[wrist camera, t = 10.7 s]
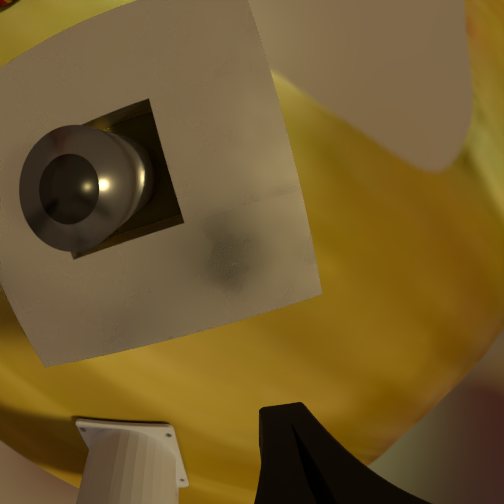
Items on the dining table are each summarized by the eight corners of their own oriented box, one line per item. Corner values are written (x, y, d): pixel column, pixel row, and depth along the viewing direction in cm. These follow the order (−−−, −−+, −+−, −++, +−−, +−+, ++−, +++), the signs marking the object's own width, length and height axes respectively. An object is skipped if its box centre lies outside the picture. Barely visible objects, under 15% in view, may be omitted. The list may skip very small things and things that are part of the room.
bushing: (160, 212, 16) (130, 250, 9) (90, 215, 15) (25, 254, 8) (159, 135, 15) (126, 117, 8) (87, 141, 14) (17, 134, 7)
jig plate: (304, 272, 18) (322, 294, 15) (61, 340, 17) (44, 367, 14) (233, 3, 13) (239, -23, 10) (-16, 106, 12) (-44, 102, 9)
